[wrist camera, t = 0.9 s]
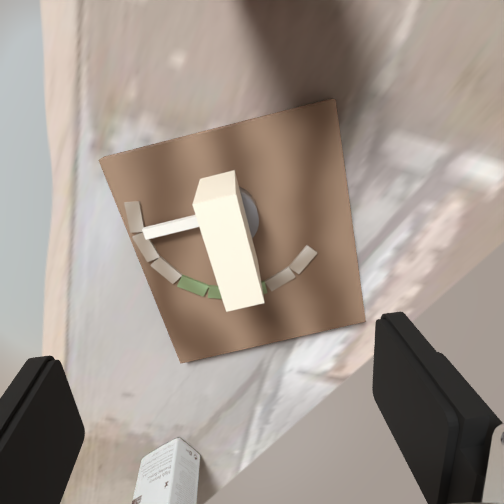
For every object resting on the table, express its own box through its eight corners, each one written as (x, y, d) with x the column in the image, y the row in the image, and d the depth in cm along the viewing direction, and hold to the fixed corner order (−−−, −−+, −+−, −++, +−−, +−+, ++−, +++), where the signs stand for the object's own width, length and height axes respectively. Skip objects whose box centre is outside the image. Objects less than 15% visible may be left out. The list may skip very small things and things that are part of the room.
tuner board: (330, 98, 31) (336, 99, 29) (360, 313, 39) (366, 323, 38) (104, 156, 31) (97, 160, 30) (182, 353, 40) (180, 365, 38)
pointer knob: (245, 159, 30) (250, 190, 22) (265, 244, 33) (277, 299, 25) (129, 189, 31) (92, 229, 22) (160, 270, 34) (138, 332, 26)
